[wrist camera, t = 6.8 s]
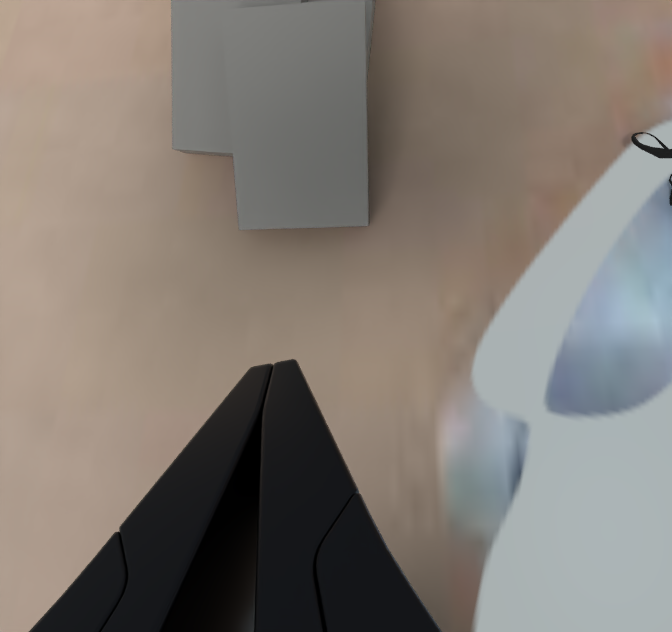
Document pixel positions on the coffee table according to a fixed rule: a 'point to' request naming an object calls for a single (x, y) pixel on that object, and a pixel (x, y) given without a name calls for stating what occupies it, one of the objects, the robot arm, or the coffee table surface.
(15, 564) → the coffee table surface
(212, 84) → the domino
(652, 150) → the creature
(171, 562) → the robot arm
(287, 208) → the domino
